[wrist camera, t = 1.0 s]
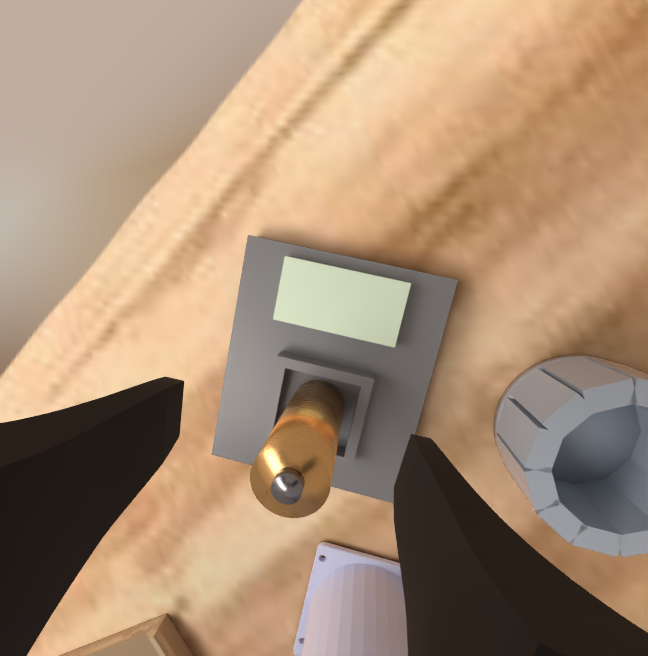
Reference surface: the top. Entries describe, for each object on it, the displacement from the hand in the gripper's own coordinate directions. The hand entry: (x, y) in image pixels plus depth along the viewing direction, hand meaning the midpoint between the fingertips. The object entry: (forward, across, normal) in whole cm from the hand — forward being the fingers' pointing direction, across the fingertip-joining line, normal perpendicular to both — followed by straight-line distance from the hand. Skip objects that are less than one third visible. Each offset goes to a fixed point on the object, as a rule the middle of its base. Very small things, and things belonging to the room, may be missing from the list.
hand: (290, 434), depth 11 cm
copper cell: (+10, 0, +5) cm, 11 cm away
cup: (+11, -16, +3) cm, 19 cm away
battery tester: (+12, -1, +3) cm, 12 cm away
